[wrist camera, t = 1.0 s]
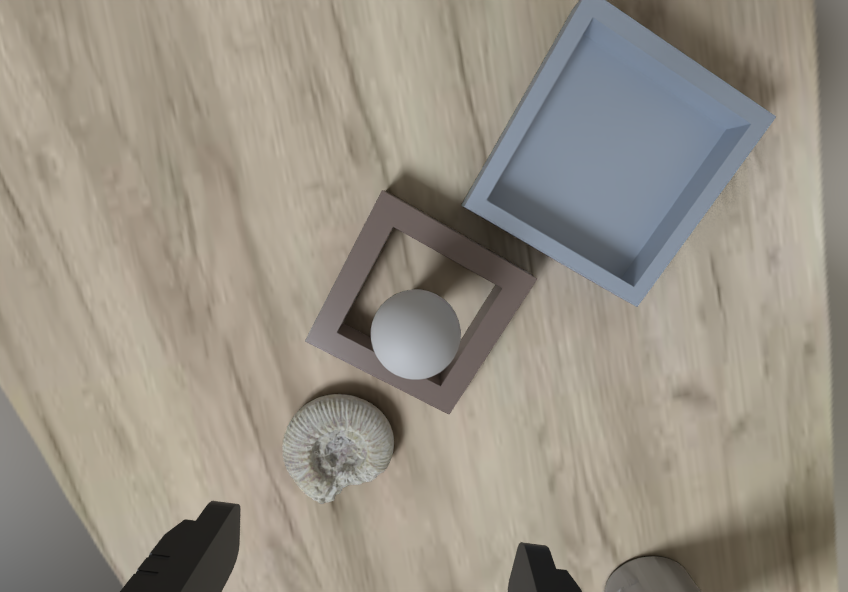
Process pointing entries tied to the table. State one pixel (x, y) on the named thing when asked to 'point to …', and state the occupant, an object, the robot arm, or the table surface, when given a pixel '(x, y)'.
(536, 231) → the tray
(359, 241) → the brownish grey square frame
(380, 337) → the lightbulb
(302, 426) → the fossil
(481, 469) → the table surface
